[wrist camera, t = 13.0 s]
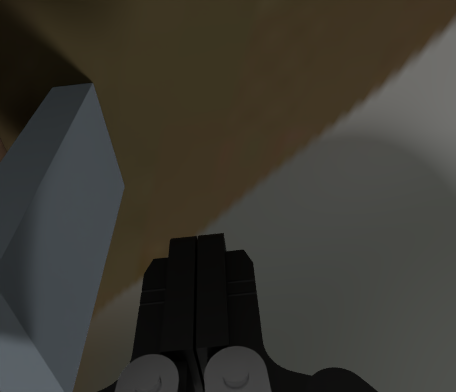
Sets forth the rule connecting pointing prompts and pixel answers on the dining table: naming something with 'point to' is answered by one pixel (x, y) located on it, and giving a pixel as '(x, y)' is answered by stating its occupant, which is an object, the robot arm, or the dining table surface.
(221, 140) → the dining table surface
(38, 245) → the slate domino
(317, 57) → the dining table surface
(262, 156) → the dining table surface
